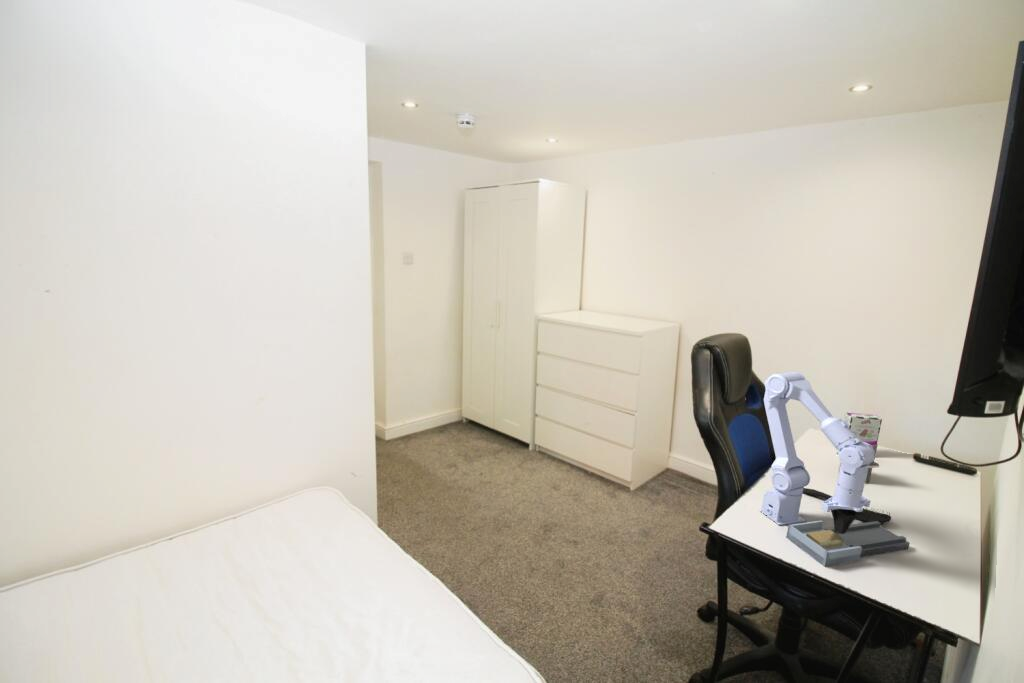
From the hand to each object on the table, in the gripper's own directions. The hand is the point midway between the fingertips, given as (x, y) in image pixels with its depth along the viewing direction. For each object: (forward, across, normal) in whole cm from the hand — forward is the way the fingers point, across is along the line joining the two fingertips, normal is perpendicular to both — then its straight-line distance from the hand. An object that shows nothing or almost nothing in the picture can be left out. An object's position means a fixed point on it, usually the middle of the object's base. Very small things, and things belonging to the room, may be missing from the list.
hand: (839, 531), depth 124 cm
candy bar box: (+5, +65, +47) cm, 80 cm away
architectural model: (+5, +44, +31) cm, 54 cm away
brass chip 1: (+3, -7, 0) cm, 7 cm away
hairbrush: (+5, +20, +16) cm, 26 cm away
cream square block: (+3, -3, 0) cm, 4 cm away
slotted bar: (+4, +10, 0) cm, 11 cm away
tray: (+4, -5, 0) cm, 7 cm away
